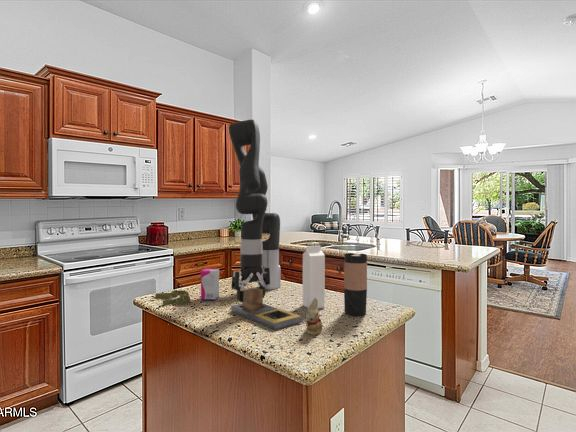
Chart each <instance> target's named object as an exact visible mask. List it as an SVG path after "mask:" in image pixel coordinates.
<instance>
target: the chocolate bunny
mask: <svg viewBox="0 0 576 432" xmlns="http://www.w3.org/2000/svg"><path fill="white" fill-rule="evenodd" d="M319 313H320V312H319V308H318V300H317V298H314V299H313V301H312V303H311V305H310V306H309V308H306V312H305V319H306V320H305V323H306V324H305V325H306V330H305V332H306V334H307V335H309V336H318V335H319V333H320V334H322V332H321V331H323V323H322V318H320V315H319ZM317 334H318V335H317Z"/></svg>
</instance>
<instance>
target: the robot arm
mask: <svg viewBox="0 0 576 432" xmlns="http://www.w3.org/2000/svg"><path fill="white" fill-rule="evenodd" d="M228 132H229V137H230V141H231V144H232V146H233V150H234V152H235V155H236V158H237V161H238V165H239V189H238V190H239V191H238V195H237V198H236V201H235V209H236V210H237V212H238V213H239V214H240V215H252V220H247V221H243V222H242V223H241V225H240V227H241V228H240V229H241V231H240V233H241V234H240V235H241V238H240V245H239V247H240V255H239V257H240V259H239V260H240V261H239V264H240V270H238V271H236V270H233V271H232V273H231V289H232V290H236V299H237V301H238V302H239V303H242V302H243V301H244V291H243V289H245V287H246V286H248V284H251V283H257V288H259V289H263V299H264V298H265V296H266V291H267V290H268V291H269V290H270V291H271V290H278V289H279V288H281V282H282V281H281V279H282V277H281V275H282V273H281V272H282V271H281V265H280V237H281V236H280V235H281V217H280V215H279V214H278V213H276V212H267V207H268V198H267V195H266V194H267V192H268V186H269V185H268V180H267V177H266V173H265V171H264V169H263V168H262V167H261V166H259V165H260V164H259V161H260V147H261V133H260V127H259V124H258V123H257V121H256V120H255V119H246V120H241V121H236V122H235V121H234V122H231V123H230V124H229V125H228ZM246 146H249V149H248V151H246V149H245V148H244V147H246ZM264 234H265V235H266V234H267V235H268V234H269V237H268V238H267V239H265V240H263V235H264Z"/></svg>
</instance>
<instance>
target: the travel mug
mask: <svg viewBox="0 0 576 432" xmlns="http://www.w3.org/2000/svg"><path fill="white" fill-rule="evenodd" d="M343 262H344V269H343V270H344V271H343V272H344V273H343V275H344V279H343V295H344V296H343V297H344V300H343V301H344V313H345V315H348V316H351V317H362V316H365V315H366V314H367V298H368V296H367V295H368V255H367V254H366V253H360V254H356V253H355V254H354V253H353V252H351V253H344V261H343Z"/></svg>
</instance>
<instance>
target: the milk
mask: <svg viewBox="0 0 576 432" xmlns="http://www.w3.org/2000/svg"><path fill="white" fill-rule="evenodd" d="M305 248H306V249H305V251H304V252H303V253H302V306H304V307H305V308H306V309H308V308H309V306H310V305H311V303H312V301H313V299H314V298H317V300H318V309H323V308H325V306H326V305H325V300H326V299H325V297H326V296H325V295H326V293H325V292H326V291H325V285H326V284H325V282H326V279H325V277H326V274H325V273H326V271H325V270H326V269H325V268H326V263H325V262H326V261H325V260H326V259H325V258H326V255H325V253H324V252H323V251H322V246H321V245H309V246H306V247H305Z"/></svg>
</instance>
